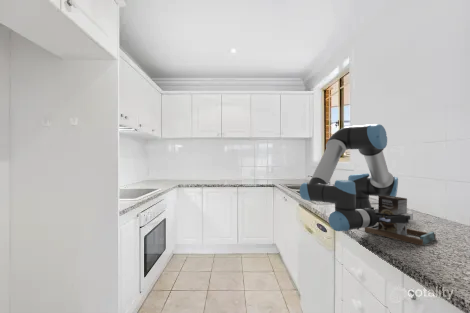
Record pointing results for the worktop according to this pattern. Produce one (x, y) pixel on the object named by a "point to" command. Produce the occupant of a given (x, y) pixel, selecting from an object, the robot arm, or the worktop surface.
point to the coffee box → (392, 213)
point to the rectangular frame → (423, 239)
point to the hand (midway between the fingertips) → (397, 213)
